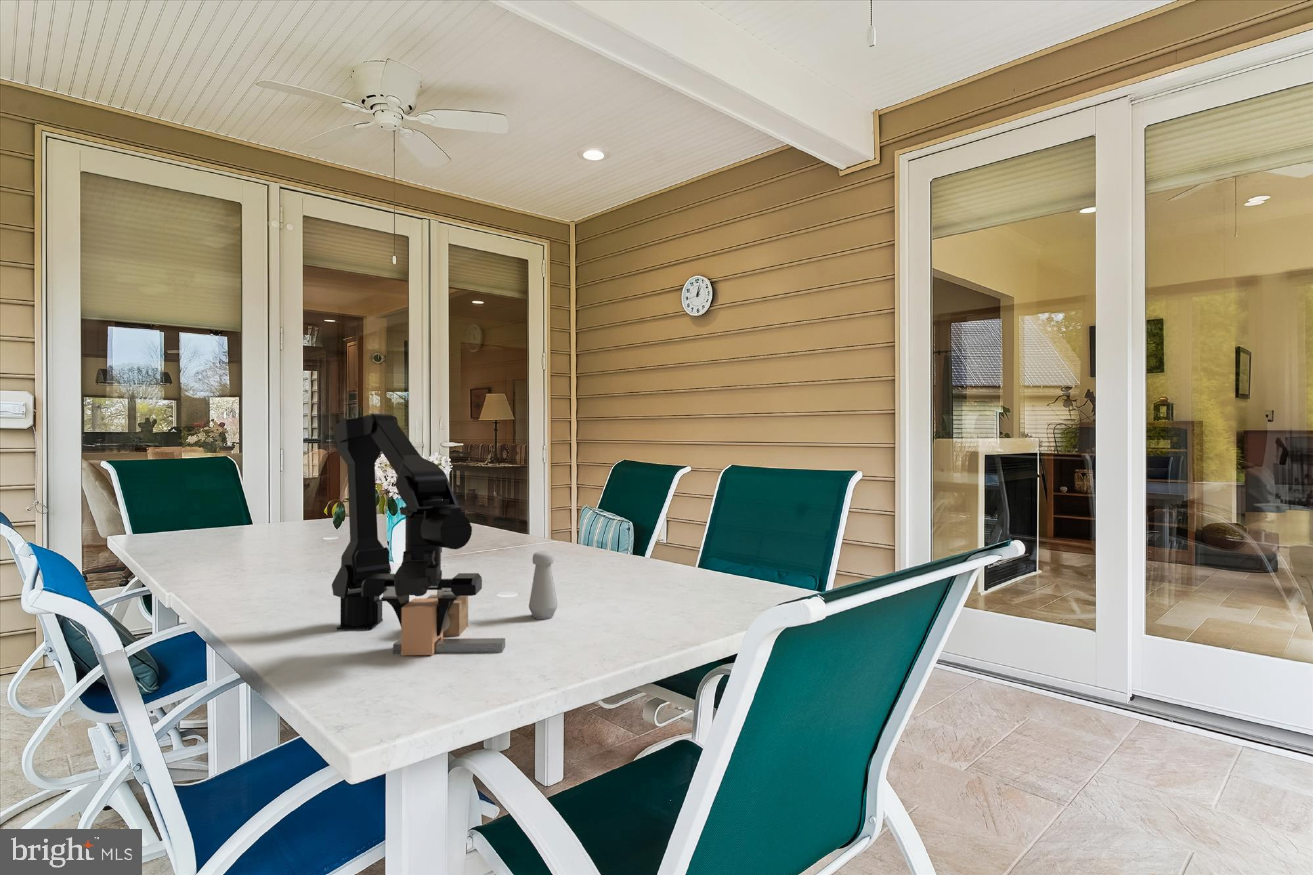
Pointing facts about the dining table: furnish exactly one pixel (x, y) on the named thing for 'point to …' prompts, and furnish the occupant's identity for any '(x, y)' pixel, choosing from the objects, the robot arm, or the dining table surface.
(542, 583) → the salt shaker
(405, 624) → the block
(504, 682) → the dining table surface
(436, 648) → the rail
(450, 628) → the cabinet
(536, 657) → the dining table surface
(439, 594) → the plunger
